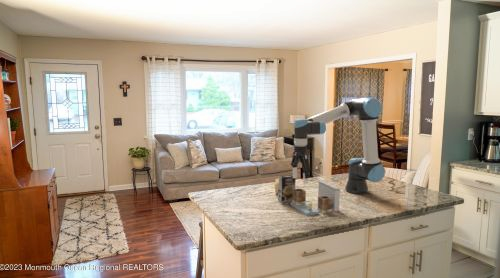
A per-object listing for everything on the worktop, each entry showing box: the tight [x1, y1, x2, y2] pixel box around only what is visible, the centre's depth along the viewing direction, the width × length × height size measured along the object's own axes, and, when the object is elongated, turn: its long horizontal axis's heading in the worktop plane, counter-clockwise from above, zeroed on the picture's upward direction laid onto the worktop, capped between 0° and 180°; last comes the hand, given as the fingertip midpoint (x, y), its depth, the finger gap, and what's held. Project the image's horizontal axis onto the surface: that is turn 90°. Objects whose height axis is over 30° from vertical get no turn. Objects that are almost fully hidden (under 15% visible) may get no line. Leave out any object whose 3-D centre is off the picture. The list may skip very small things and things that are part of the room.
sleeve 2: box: [317, 195, 333, 214], centre depth 191 cm, size 6×6×8 cm
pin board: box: [289, 202, 320, 217], centre depth 194 cm, size 8×20×6 cm, turn 19°
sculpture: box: [273, 177, 279, 194], centre depth 225 cm, size 11×12×11 cm
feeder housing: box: [317, 180, 341, 212], centre depth 198 cm, size 3×18×13 cm, turn 19°
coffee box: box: [277, 174, 297, 204], centre depth 208 cm, size 9×6×16 cm
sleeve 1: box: [293, 188, 307, 205], centre depth 199 cm, size 6×6×8 cm
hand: (300, 180), depth 198 cm, fingers open, 13 cm apart
